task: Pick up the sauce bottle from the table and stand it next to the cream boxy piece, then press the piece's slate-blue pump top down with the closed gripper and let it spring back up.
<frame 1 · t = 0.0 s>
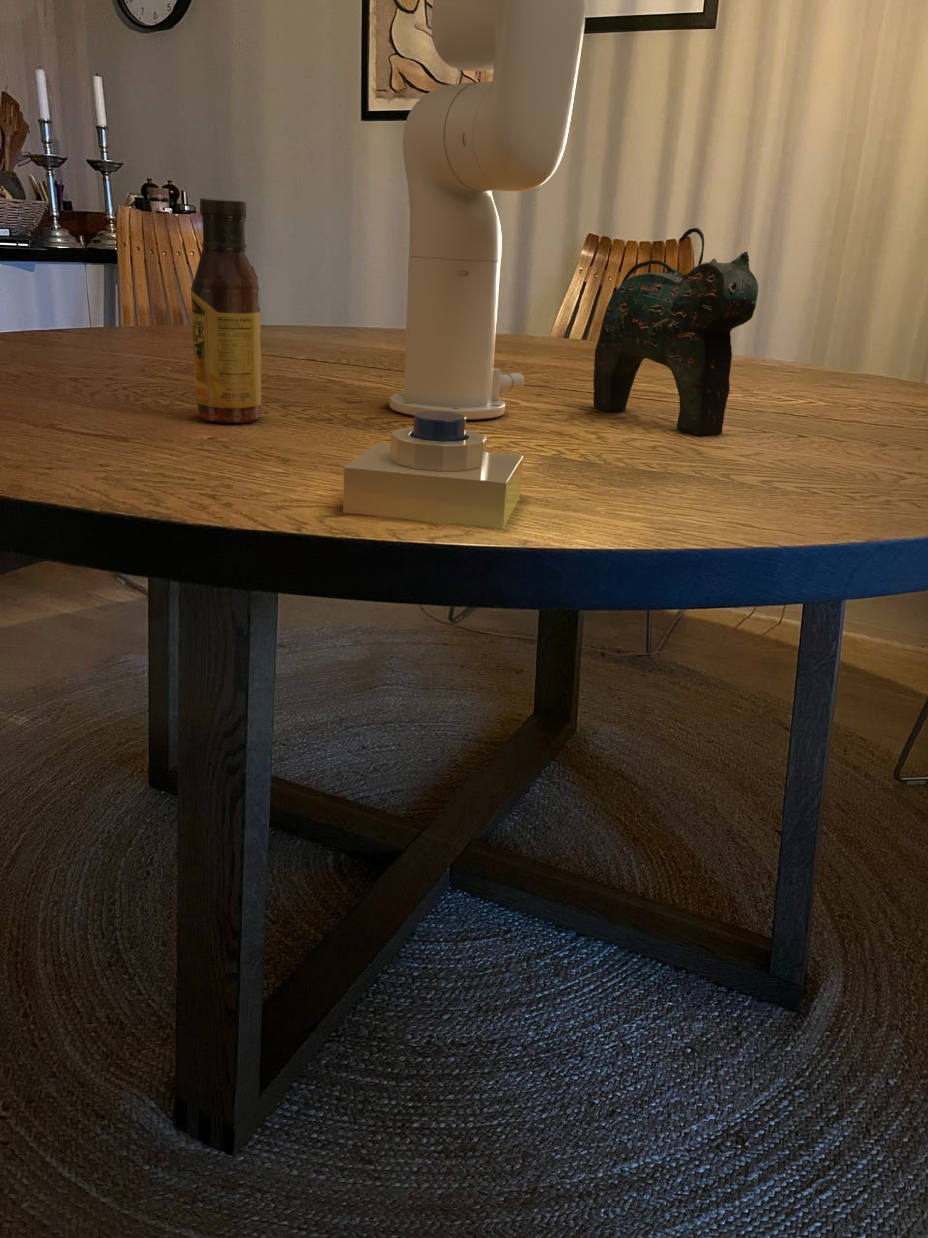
sauce bottle: (229, 421, 97), on the table
ceramic cat: (653, 423, 110), on the table
cream boxy piece: (435, 505, 71), on the table
pump top: (439, 428, 69), point 5 cm above the table, slide at 0.1 cm
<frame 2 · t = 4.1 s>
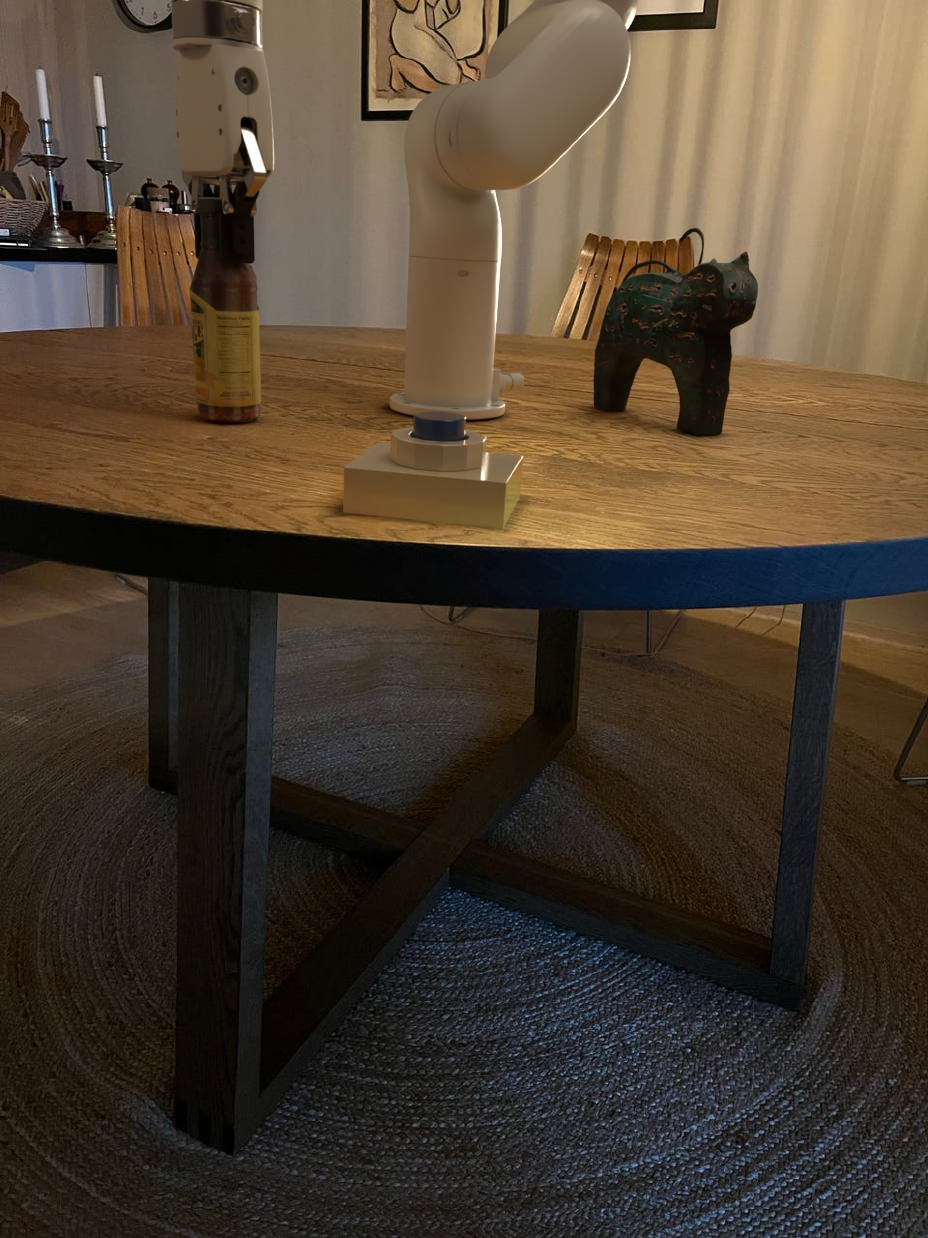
hand: (224, 258, 91), 15 cm above the table, tool pointing down, fingers closed on sauce bottle, 4 cm apart
sauce bottle: (229, 421, 97), on the table, touching gripper
everything else where it was.
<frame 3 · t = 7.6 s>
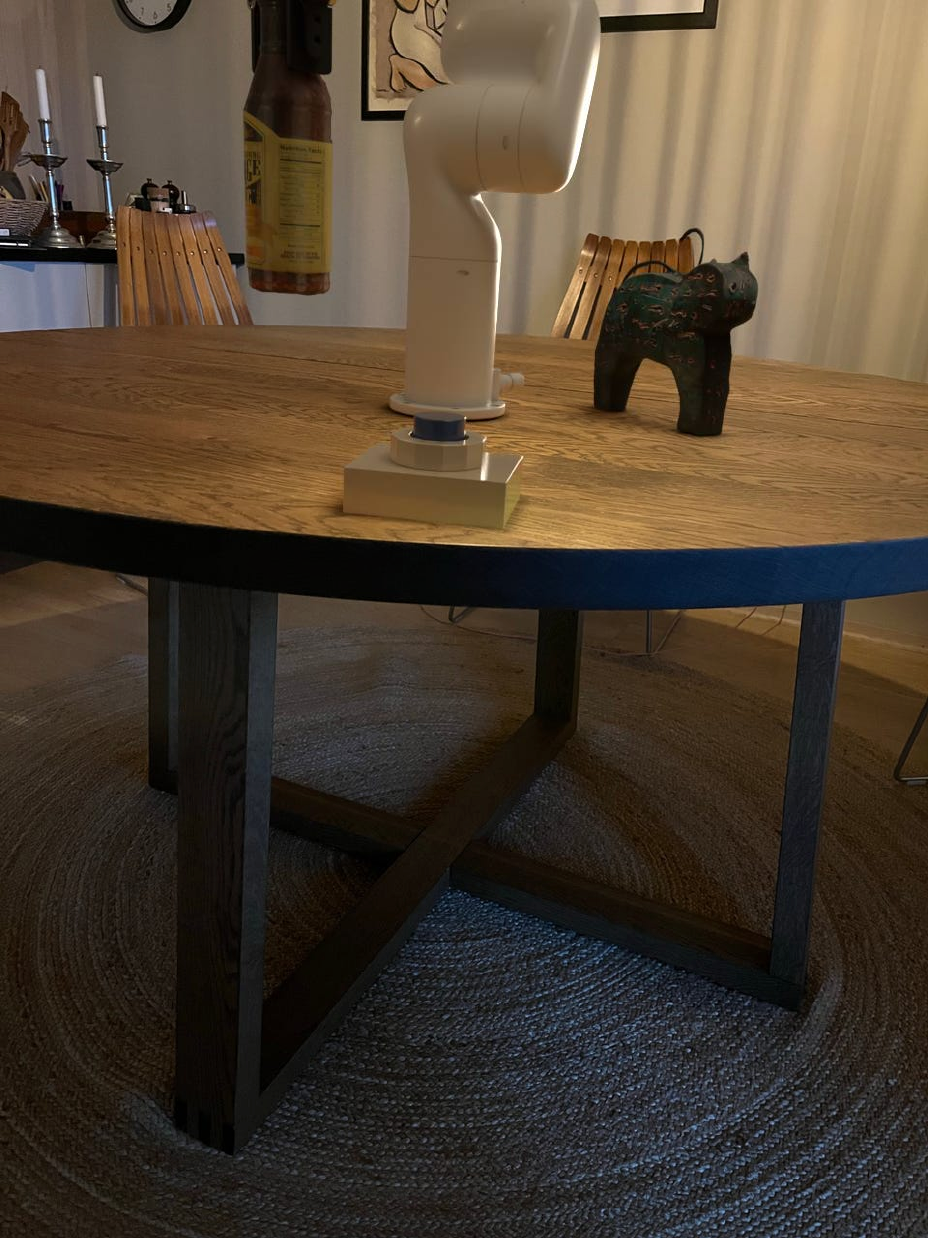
hand: (291, 71, 69), 28 cm above the table, tool pointing down, fingers closed on sauce bottle, 4 cm apart
sauce bottle: (289, 295, 74), point 13 cm above the table, touching gripper
everything else where it was.
when the fingers open (15 cm above the table, at t = 11.1 s): sauce bottle stays where it is, on the table.
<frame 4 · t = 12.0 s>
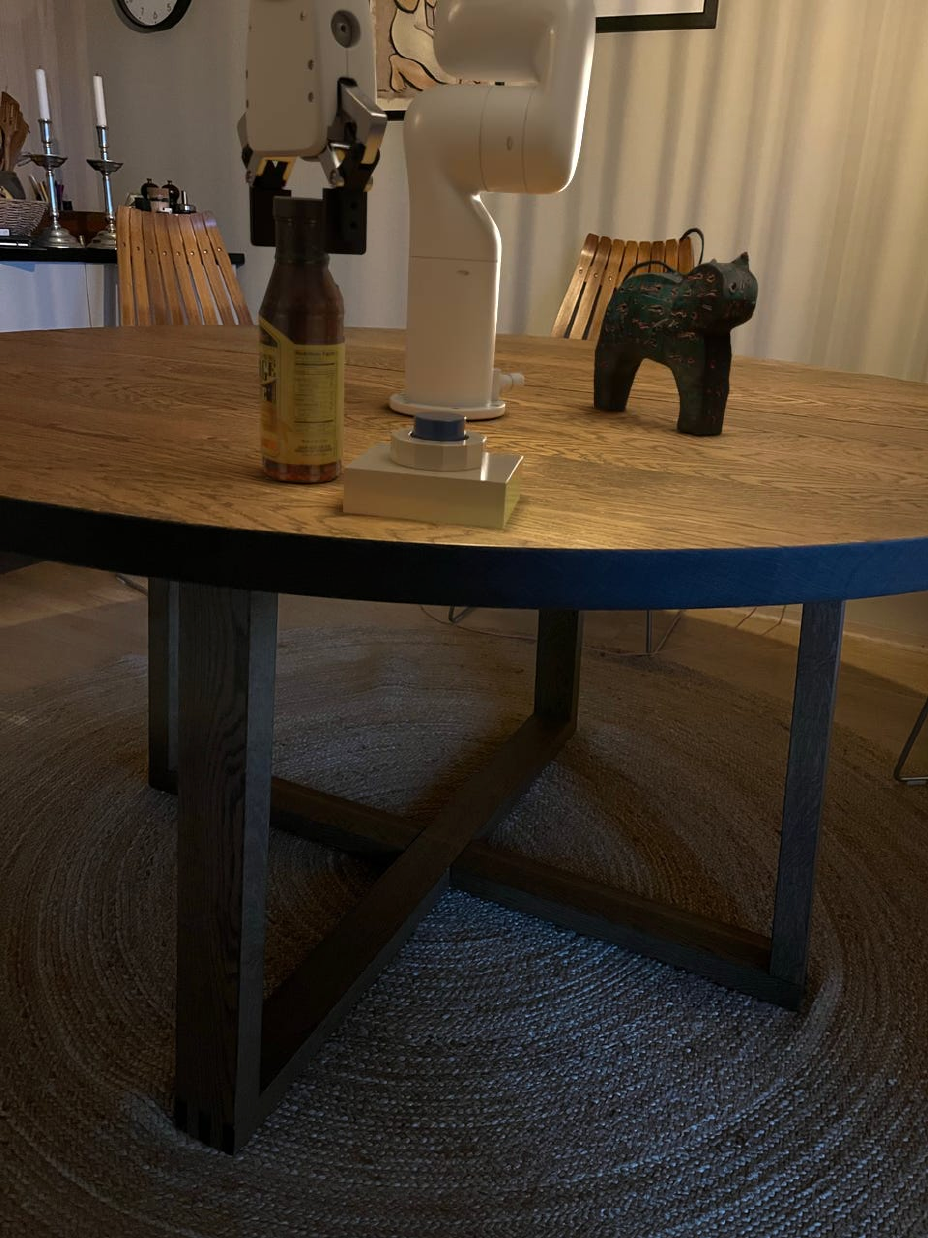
hand: (306, 250, 70), 16 cm above the table, tool pointing down, fingers open, 9 cm apart
sauce bottle: (302, 479, 77), on the table
everything else where it was.
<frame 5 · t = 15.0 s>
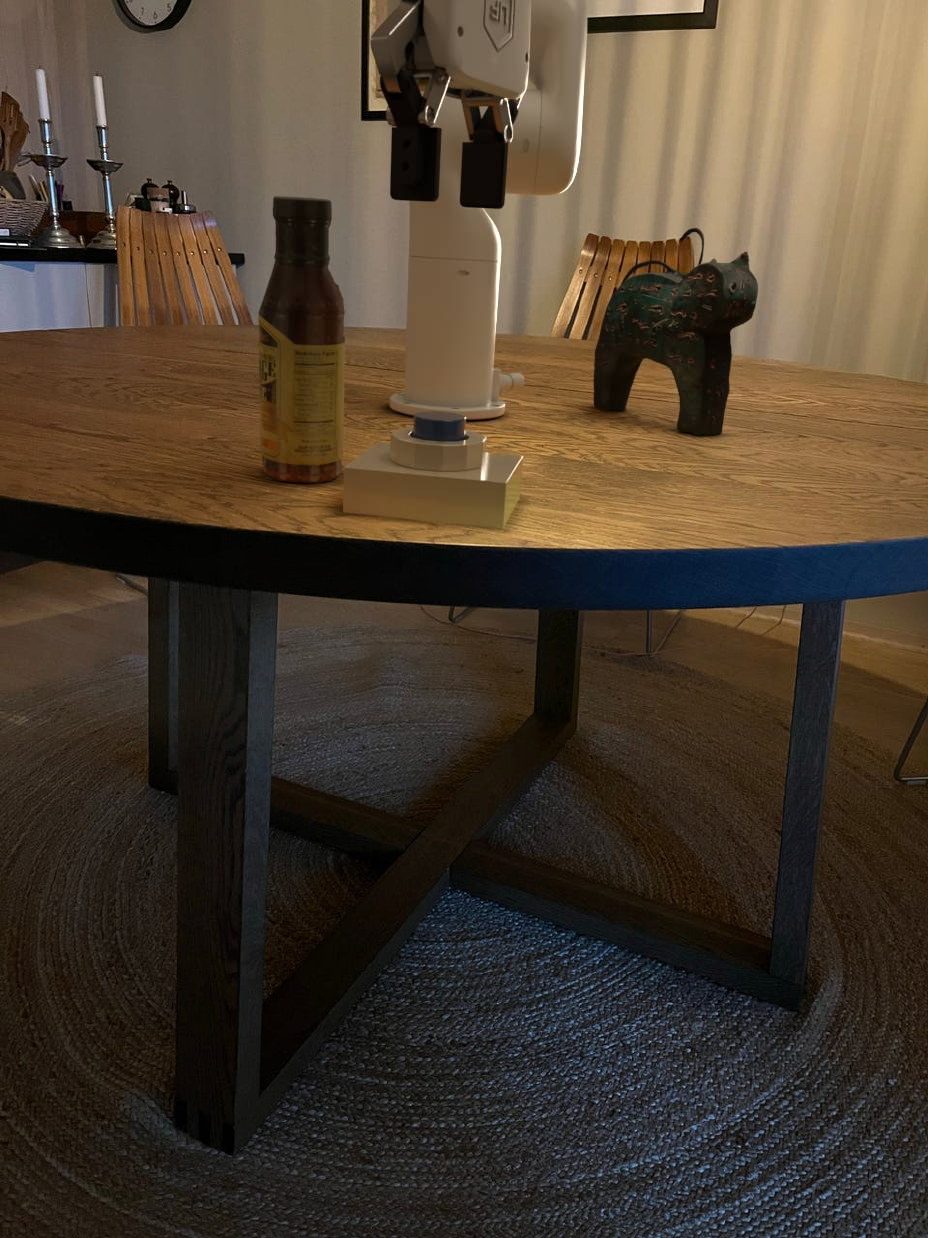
hand: (449, 202, 64), 20 cm above the table, tool pointing down, fingers open, 7 cm apart
nothing on the table moved.
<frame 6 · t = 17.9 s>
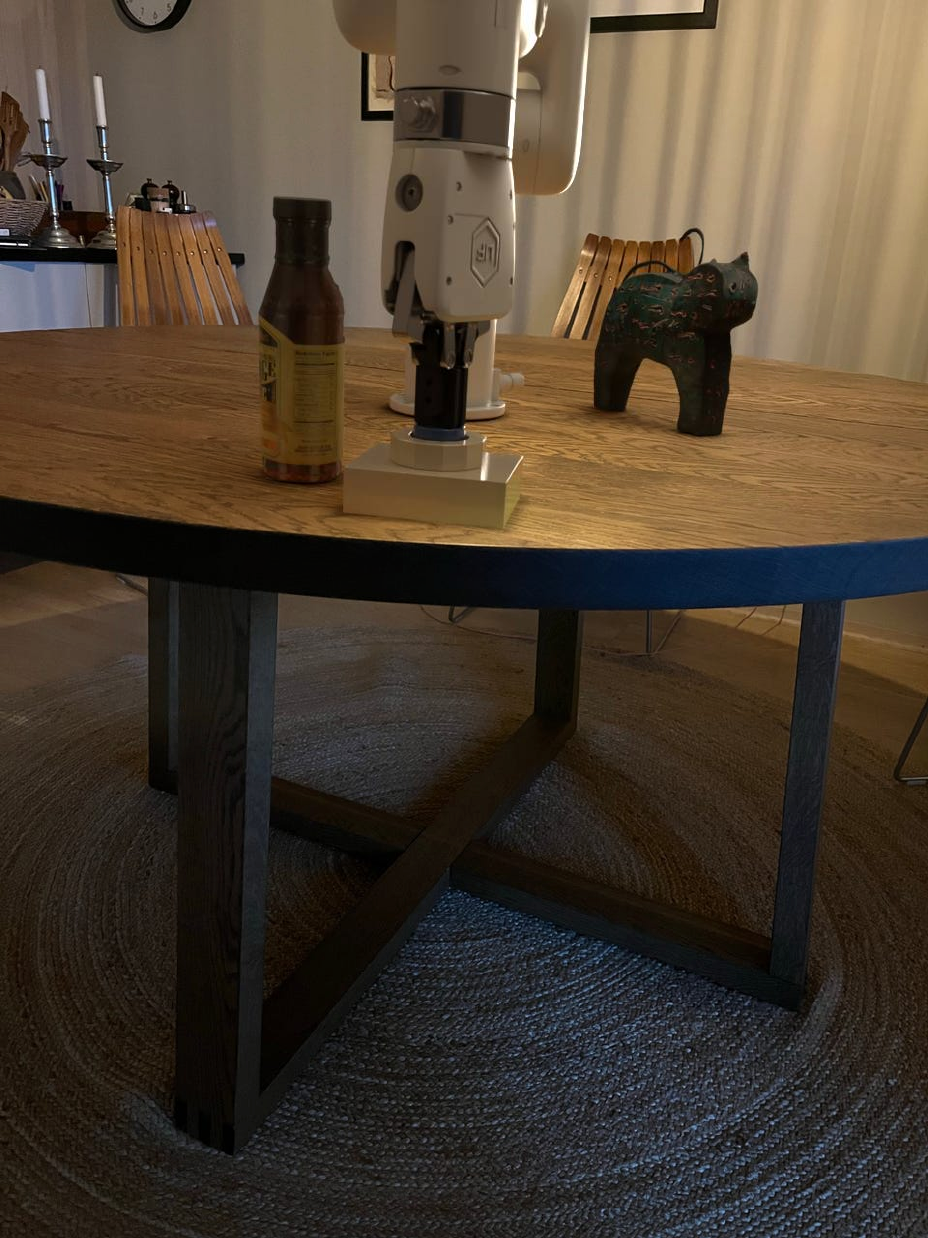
hand: (439, 424, 69), 6 cm above the table, tool pointing down, fingers closed
pump top: (438, 437, 69), point 5 cm above the table, slide at -0.5 cm, touching gripper
everything else where it was.
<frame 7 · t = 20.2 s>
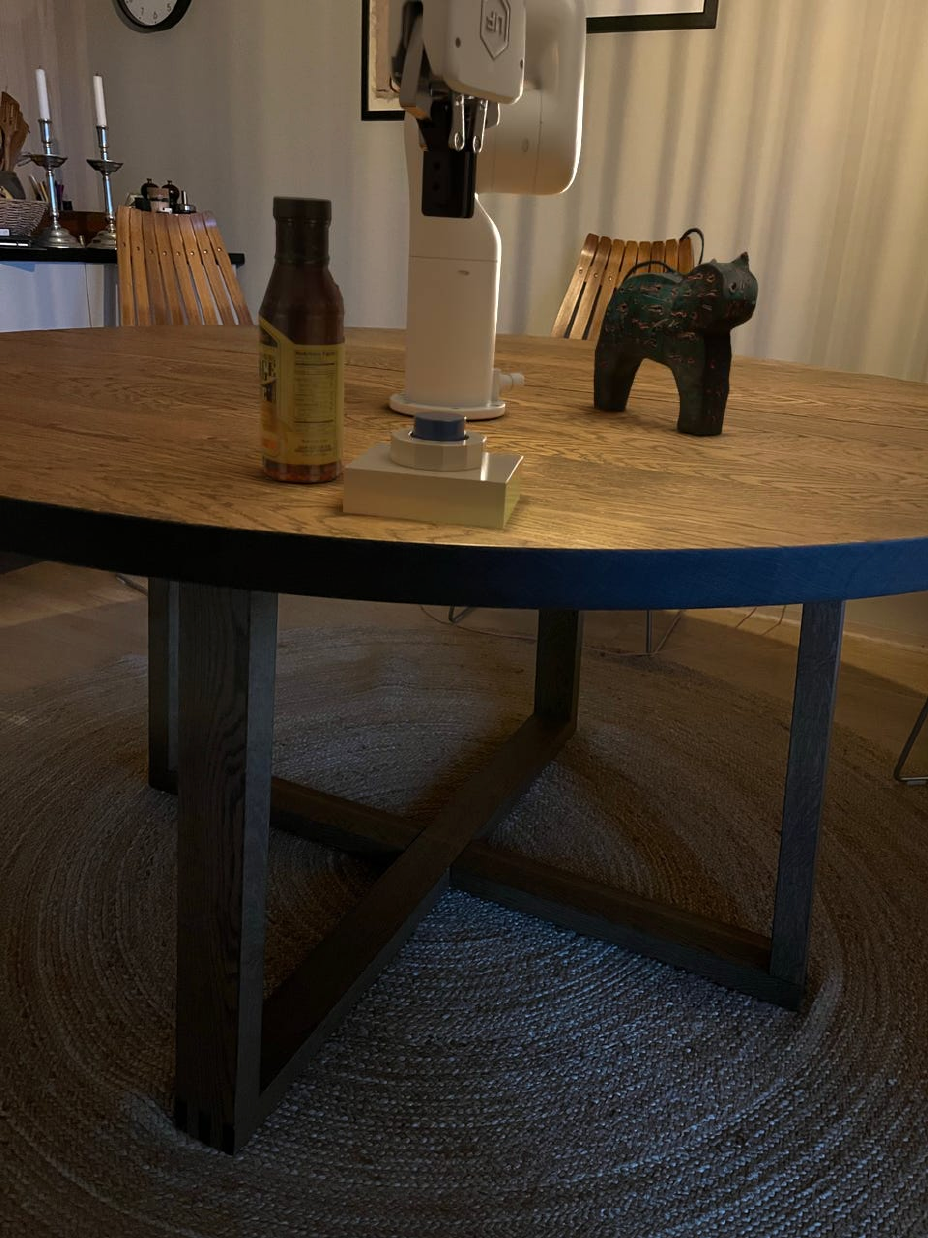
hand: (447, 216, 67), 19 cm above the table, tool pointing down, fingers closed
pump top: (439, 428, 69), point 5 cm above the table, slide at 0.1 cm
everything else where it was.
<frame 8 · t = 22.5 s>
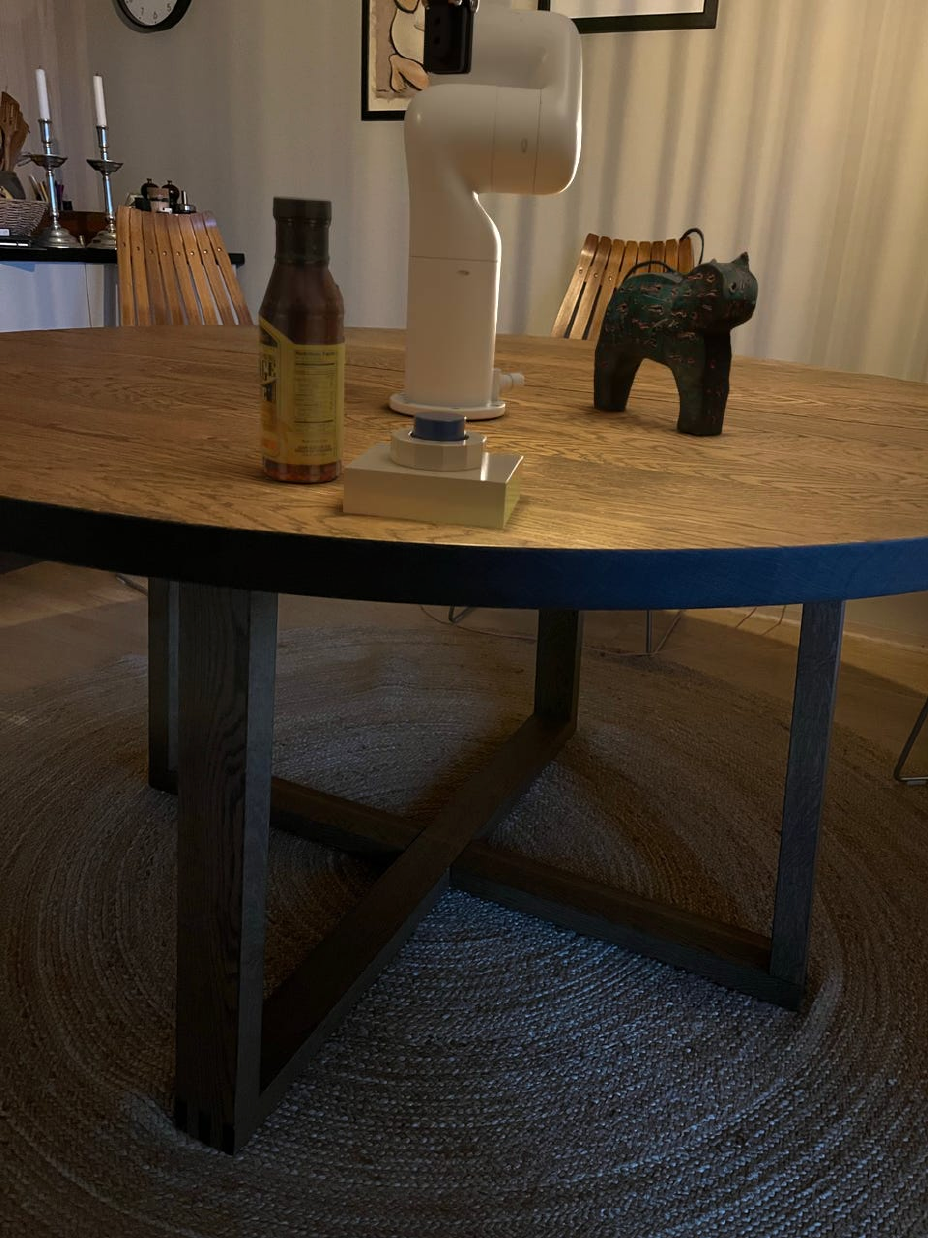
hand: (446, 71, 73), 29 cm above the table, tool pointing down, fingers closed
nothing on the table moved.
at the end: pump top pushed in 1.1 cm at the most during the clip, back to where it started at the end; pump top slide at 0.1 cm; sauce bottle inside the target area (0.4 cm from its centre), on the table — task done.
